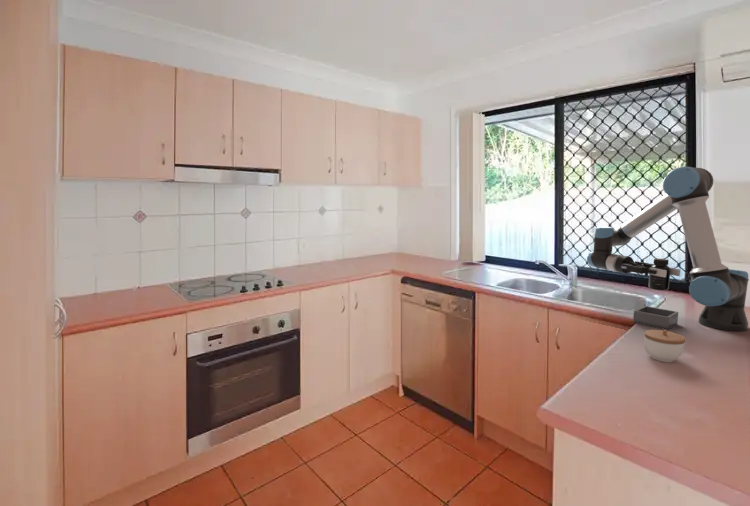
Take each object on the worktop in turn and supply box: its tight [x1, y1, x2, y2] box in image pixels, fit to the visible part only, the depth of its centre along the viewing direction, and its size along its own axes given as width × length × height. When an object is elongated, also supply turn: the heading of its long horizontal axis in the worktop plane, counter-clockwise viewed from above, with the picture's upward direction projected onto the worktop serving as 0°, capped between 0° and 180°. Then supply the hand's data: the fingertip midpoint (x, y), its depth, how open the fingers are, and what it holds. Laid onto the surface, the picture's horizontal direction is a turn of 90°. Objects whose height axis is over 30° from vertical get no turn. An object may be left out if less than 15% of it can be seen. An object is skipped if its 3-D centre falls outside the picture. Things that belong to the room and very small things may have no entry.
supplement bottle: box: [648, 258, 671, 291], centre depth 164 cm, size 7×7×12 cm
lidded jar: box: [643, 329, 686, 363], centre depth 130 cm, size 11×11×9 cm
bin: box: [632, 305, 679, 331], centre depth 166 cm, size 12×12×5 cm
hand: (672, 273), depth 159 cm, fingers closed on supplement bottle, 7 cm apart
